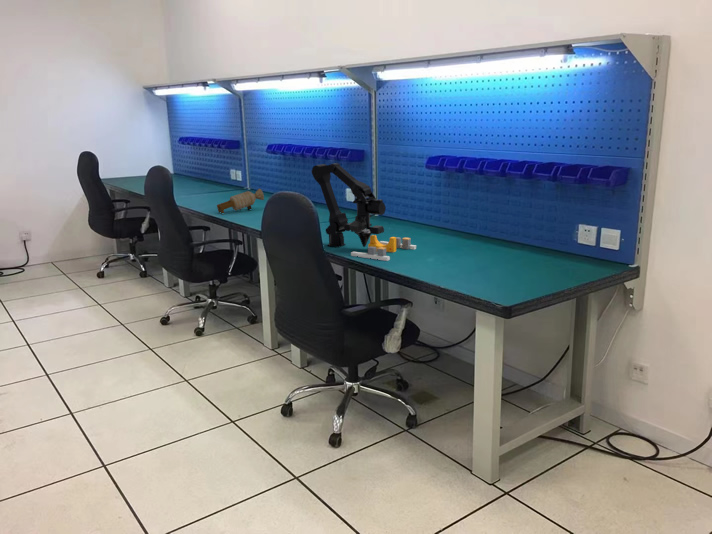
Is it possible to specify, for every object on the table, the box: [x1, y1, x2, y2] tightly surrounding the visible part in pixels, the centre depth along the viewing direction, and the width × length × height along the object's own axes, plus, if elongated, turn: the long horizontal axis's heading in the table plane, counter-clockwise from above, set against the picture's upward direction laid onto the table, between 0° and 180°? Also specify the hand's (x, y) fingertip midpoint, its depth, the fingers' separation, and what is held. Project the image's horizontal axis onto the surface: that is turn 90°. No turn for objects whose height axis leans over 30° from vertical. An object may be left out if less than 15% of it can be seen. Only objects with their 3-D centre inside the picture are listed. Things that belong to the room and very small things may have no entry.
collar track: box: [350, 236, 417, 262], centre depth 263 cm, size 19×25×5 cm
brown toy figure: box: [216, 188, 265, 214], centre depth 380 cm, size 10×12×30 cm
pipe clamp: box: [367, 234, 397, 253], centre depth 265 cm, size 12×4×6 cm, turn 61°
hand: (364, 246), depth 269 cm, fingers closed
